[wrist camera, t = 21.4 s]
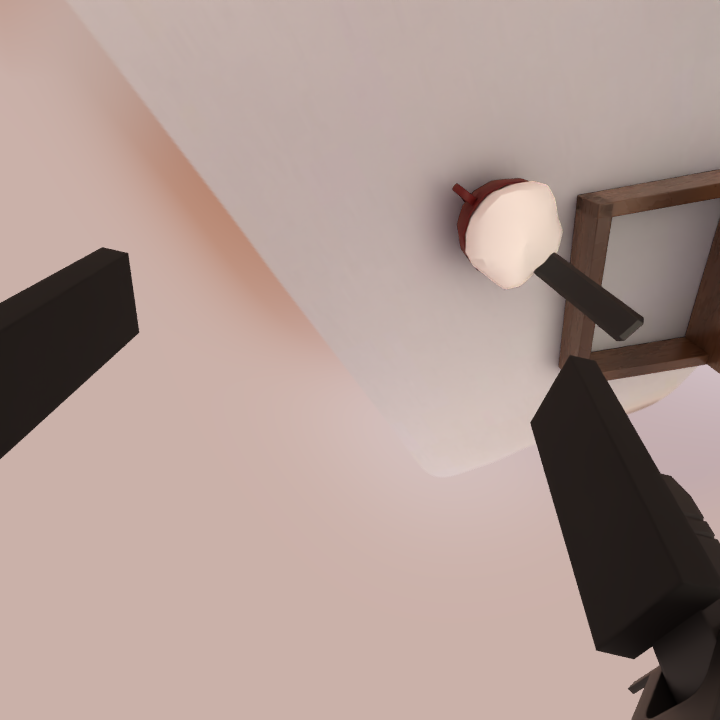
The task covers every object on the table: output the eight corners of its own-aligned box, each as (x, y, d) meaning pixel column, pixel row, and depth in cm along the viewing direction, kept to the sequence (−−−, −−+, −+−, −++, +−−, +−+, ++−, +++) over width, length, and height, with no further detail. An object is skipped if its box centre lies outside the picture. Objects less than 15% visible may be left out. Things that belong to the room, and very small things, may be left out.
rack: (759, 162, 30) (1073, 216, 17) (700, 342, 38) (885, 470, 25) (577, 195, 30) (752, 271, 18) (558, 366, 38) (669, 502, 26)
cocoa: (427, 188, 29) (477, 240, 19) (512, 134, 28) (614, 161, 18) (479, 294, 34) (542, 381, 24) (554, 253, 33) (654, 328, 22)
